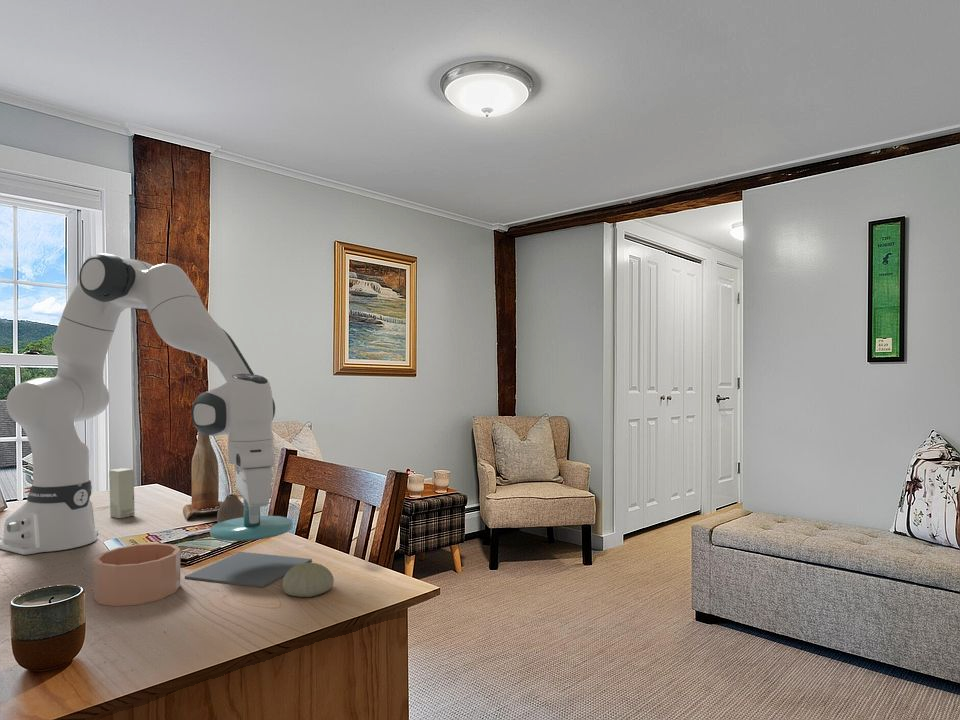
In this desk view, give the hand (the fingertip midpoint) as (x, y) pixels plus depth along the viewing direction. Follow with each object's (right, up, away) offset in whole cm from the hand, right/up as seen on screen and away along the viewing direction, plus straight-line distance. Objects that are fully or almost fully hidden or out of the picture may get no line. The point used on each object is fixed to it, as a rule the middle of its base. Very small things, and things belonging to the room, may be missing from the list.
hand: (251, 520), depth 134 cm
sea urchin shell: (+15, -11, -12) cm, 22 cm away
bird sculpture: (-29, -10, +47) cm, 56 cm away
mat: (0, -10, 0) cm, 10 cm away
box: (-51, -10, +45) cm, 69 cm away
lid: (0, -2, 0) cm, 2 cm away
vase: (-16, -10, +31) cm, 36 cm away
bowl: (-17, -10, -13) cm, 23 cm away
